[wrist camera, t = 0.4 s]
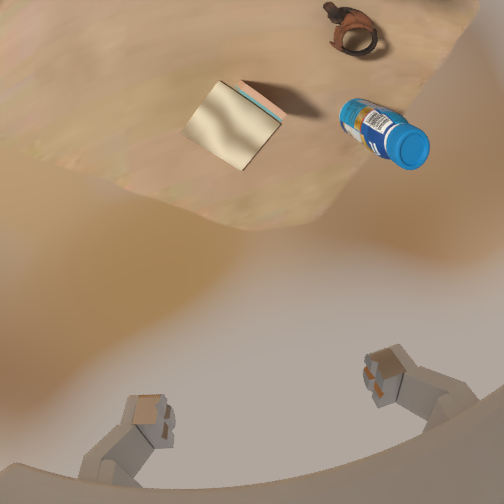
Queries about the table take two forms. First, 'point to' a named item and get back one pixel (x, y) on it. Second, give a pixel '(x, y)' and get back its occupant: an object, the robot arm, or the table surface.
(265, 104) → the glazed tile
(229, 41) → the table surface
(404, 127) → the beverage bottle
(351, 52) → the brown ring-shaped piece
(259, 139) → the cream cloth
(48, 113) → the table surface
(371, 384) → the robot arm
